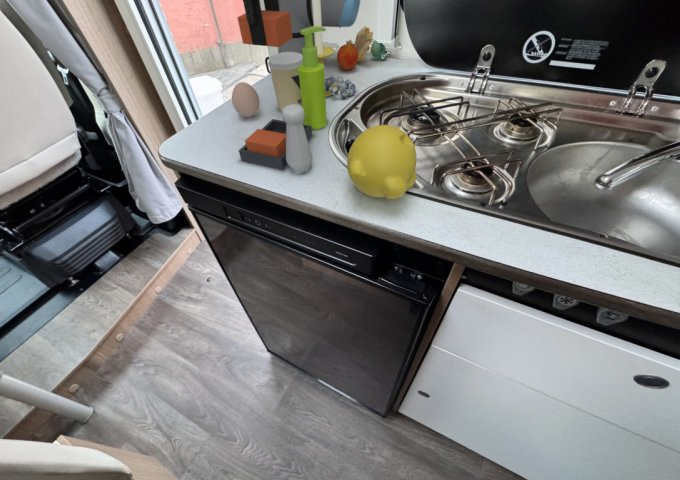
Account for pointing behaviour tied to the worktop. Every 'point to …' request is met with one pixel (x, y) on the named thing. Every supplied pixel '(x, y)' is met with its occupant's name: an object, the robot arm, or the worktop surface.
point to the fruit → (347, 56)
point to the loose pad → (269, 28)
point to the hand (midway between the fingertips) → (268, 39)
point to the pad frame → (268, 159)
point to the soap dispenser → (312, 82)
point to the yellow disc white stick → (321, 50)
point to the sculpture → (382, 162)
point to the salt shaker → (296, 139)
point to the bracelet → (339, 81)
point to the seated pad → (267, 142)
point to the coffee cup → (286, 78)
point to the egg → (245, 99)
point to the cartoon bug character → (363, 44)
